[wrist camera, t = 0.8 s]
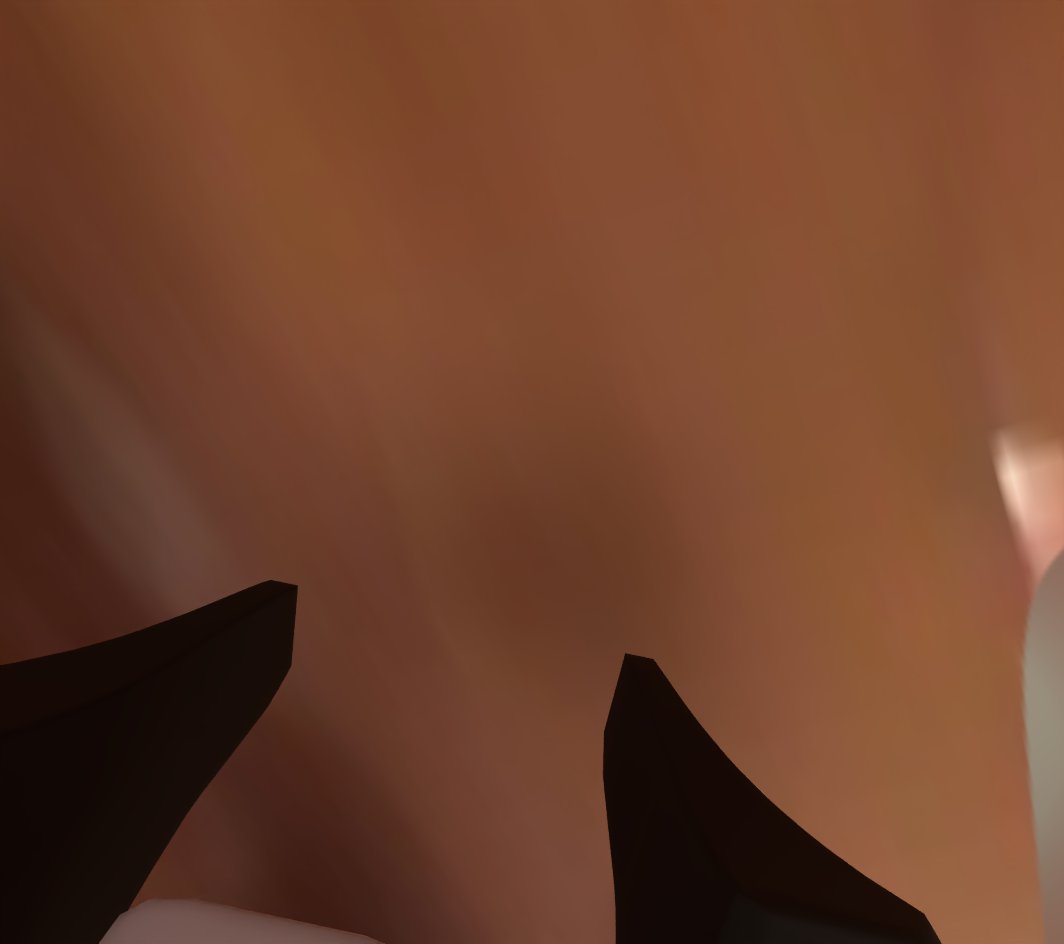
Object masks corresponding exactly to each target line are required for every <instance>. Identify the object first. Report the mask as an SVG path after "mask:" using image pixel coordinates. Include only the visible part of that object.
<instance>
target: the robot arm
mask: <svg viewBox="0 0 1064 944" xmlns="http://www.w3.org/2000/svg"><path fill="white" fill-rule="evenodd" d="M297 590H298V585H293V584H288V583H283V582H278V581H273V580H269V581H266V582H263V583H260V584H257V585H254V586H252V587H249V588H247V589H244V590H242V591H240V592H237V593H235V594H232V595H230V596H228V597H225V598H223V599H220V600H218V601H215V602H213V603H211V604H208V605H206V606H203V607H201V608H198V609H196V610H193V611H191V612H188V613H186V614H183V615H180V616H178V617H175V618H172V619H170V620H167V621H164V622H161V623H159V624H156V625H153V626H150V627H148V628H145V629H142V630H139V631H136V632H133V633H130V634H127V635H124V636H121V637H118V638H114V639H111V640H108V641H104V642H100V643H97V644H93V645H90V646H86V647H83V648H79V649H75V650H71V651H66V652H62V653H57V654H53V655H48V656H43V657H39V658H34V659H30V660H25V661H21V662H16V663H11V664H5V665H0V944H384V943H382V942H379V941H377V940H375V939H372V938H370V937H368V936H365V935H360V934H356V933H351V932H346V931H342V930H337V929H333V928H328V927H323V926H319V925H314V924H309V923H305V922H300V921H295V920H291V919H286V918H282V917H277V916H272V915H268V914H263V913H258V912H254V911H249V910H244V909H240V908H235V907H230V906H226V905H221V904H217V903H212V902H207V901H203V900H198V899H193V898H155V899H149V900H147V901H145V902H143V903H141V904H139V905H137V906H136V907H134V908H132V909H130V910H128V909H129V907H130V906H131V904H132V902H133V901H134V899H135V897H136V896H137V894H138V892H139V891H140V889H141V887H142V886H143V884H144V882H145V881H146V879H147V877H148V876H149V874H150V872H151V871H152V869H153V867H154V866H155V864H156V862H157V861H158V859H159V857H160V856H161V854H162V853H163V851H164V849H165V848H166V846H167V845H168V843H169V841H170V840H171V838H172V837H173V835H174V833H175V832H176V830H177V829H178V827H179V826H180V824H181V822H182V821H183V819H184V818H185V816H186V814H187V813H188V812H189V810H190V809H191V807H192V806H193V805H194V803H195V802H196V800H197V799H198V798H199V796H200V795H201V793H202V792H203V791H204V789H205V788H206V787H207V786H208V784H209V783H210V782H211V780H212V779H213V778H214V777H215V775H216V774H217V773H218V771H219V770H220V769H221V767H222V766H223V765H224V764H225V762H226V761H227V760H228V758H229V757H230V756H231V754H232V753H233V752H234V751H235V749H236V748H237V747H238V745H239V744H240V743H241V742H242V740H243V739H244V738H245V736H246V735H247V734H248V732H249V731H250V730H251V728H252V727H253V726H254V724H255V723H256V722H257V720H258V719H259V718H260V717H261V715H262V714H263V712H264V711H265V710H266V708H267V707H268V706H269V704H270V702H271V701H272V699H273V697H274V696H275V694H276V692H277V691H278V689H279V687H280V685H281V684H282V682H283V680H284V678H285V676H286V675H287V673H288V671H289V669H290V667H291V663H292V651H293V639H294V627H295V615H296V602H297ZM603 780H604V791H605V801H606V811H607V821H608V830H609V839H610V849H611V858H612V868H613V877H614V890H615V906H616V944H942V943H941V942H940V940H939V938H938V936H937V935H936V933H935V931H934V929H933V928H932V926H931V924H930V923H929V921H928V919H927V918H926V916H925V914H924V913H922V912H921V911H919V910H917V909H916V908H914V907H913V906H911V905H910V904H908V903H907V902H905V901H903V900H902V899H900V898H899V897H897V896H896V895H894V894H893V893H891V892H889V891H888V890H886V889H885V888H883V887H882V886H880V885H879V884H877V883H875V882H874V881H872V880H871V879H869V878H868V877H866V876H865V875H863V874H862V873H860V872H859V871H857V870H856V869H855V868H853V867H852V866H851V865H849V864H848V863H847V862H845V861H844V860H842V859H841V858H840V857H838V856H837V855H836V854H834V853H833V852H832V851H830V850H829V849H827V848H826V847H825V846H824V845H822V844H821V843H820V842H819V841H817V840H816V839H815V838H813V837H812V836H811V835H810V834H808V833H807V832H806V831H805V830H804V829H802V828H801V827H800V826H799V825H798V824H797V823H795V822H794V821H793V820H792V819H791V818H790V817H788V816H787V815H786V814H785V813H784V812H783V811H781V810H780V809H779V808H778V807H777V806H776V805H775V804H774V803H772V802H771V801H770V800H769V799H768V798H767V797H766V796H765V795H764V794H763V793H762V792H761V791H760V790H759V789H758V788H757V787H756V786H755V785H754V784H753V783H752V782H751V781H750V780H749V779H748V778H747V777H746V776H745V775H744V774H743V773H742V772H741V771H740V770H739V769H738V768H737V767H736V766H735V765H734V764H733V763H732V761H731V760H730V759H729V758H728V757H727V756H726V755H725V753H724V752H723V751H722V750H721V749H720V748H719V746H718V745H717V744H716V743H715V742H714V741H713V739H712V738H711V737H710V736H709V735H708V733H707V732H706V731H705V730H704V728H703V727H702V726H701V725H700V723H699V722H698V721H697V719H696V718H695V717H694V715H693V714H692V713H691V711H690V710H689V709H688V707H687V706H686V705H685V703H684V702H683V700H682V699H681V698H680V696H679V695H678V693H677V692H676V691H675V689H674V688H673V686H672V685H671V683H670V682H669V681H668V679H667V678H666V676H665V675H664V673H663V672H662V670H661V669H660V668H659V666H658V665H657V663H656V662H655V661H654V659H650V658H646V657H641V656H636V655H631V654H626V653H625V656H624V660H623V664H622V667H621V671H620V675H619V678H618V682H617V686H616V689H615V693H614V697H613V700H612V704H611V708H610V712H609V715H608V719H607V723H606V726H605V730H604V753H603Z"/></svg>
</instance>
